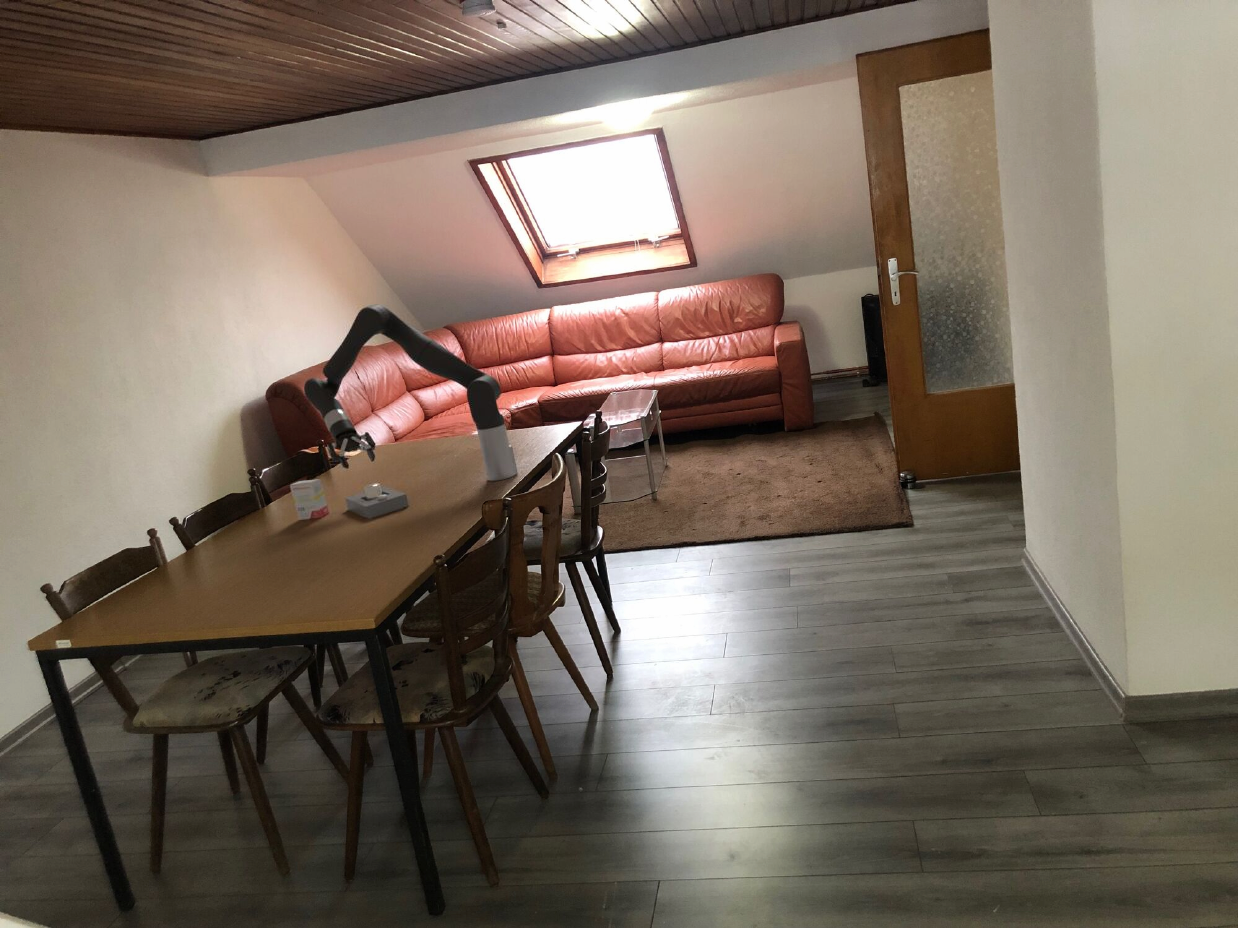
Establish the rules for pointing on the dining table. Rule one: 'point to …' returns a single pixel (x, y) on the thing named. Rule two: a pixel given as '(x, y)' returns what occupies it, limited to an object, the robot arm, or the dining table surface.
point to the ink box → (309, 499)
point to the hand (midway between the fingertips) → (360, 463)
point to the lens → (372, 491)
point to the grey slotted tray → (377, 503)
